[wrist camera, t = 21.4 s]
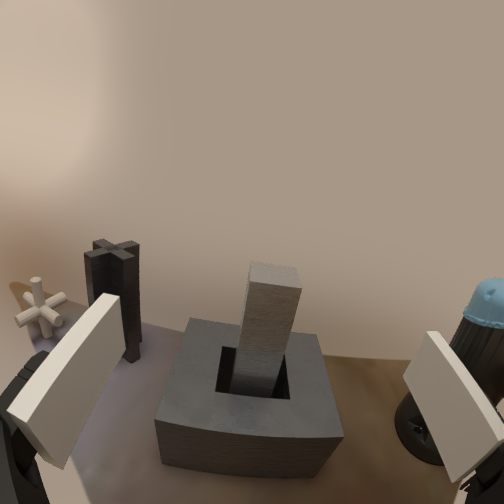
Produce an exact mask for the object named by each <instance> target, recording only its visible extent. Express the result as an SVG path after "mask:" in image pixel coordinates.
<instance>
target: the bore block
mask: <svg viewBox="0 0 504 504" xmlns="http://www.w3.org/2000/svg"><path fill="white" fill-rule="evenodd" d="M239 329H240V326H239V325H232V324H226V323H219V322H213V321H206V320H201V319H195V318H190V319H189V322H188V325H187V327H186V330H185V333H184V335H183V338H182V341H181V343H180V346H179V349H178V352H177V355H176V357H175V360H174V363H173V366H172V369H171V372H170V374H169V377H168V380H167V383H166V386H165V389H164V392H163V395H162V398H161V401H160V404H159V407H158V410H157V413H156V416H155V419H154V420H155V426H156V433H157V438H158V444H159V450H160V455H161V460H162V464H167V465H171V466H176V467H181V468H186V469H191V470H197V471H203V472H210V473H217V474H225V475H234V476H246V477H261V478H313V477H314V476H315V474H316V473H317V472H318V471H319V470H320V468H321V467H322V466H323V465H324V463H325V462H326V461H327V459H328V458H329V457H330V456H331V454H332V453H333V452H334V450H335V449H336V448H337V446H338V445H339V443H340V442H341V441H342V439H343V438H344V433H343V429H342V425H341V422H340V418H339V414H338V410H337V406H336V403H335V399H334V395H333V392H332V388H331V384H330V381H329V377H328V373H327V370H326V366H325V363H324V359H323V356H322V352H321V349H320V346H319V342H318V339H317V335H315V334H305V333H295V332H290V335H289V339H288V343H287V346H286V349H285V353H284V356H283V360H282V363H281V366H280V370H279V373H278V376H277V379H276V383H275V386H274V389H273V392H272V395H271V398H261V397H251V396H242V395H234V394H229V389H230V383H231V377H232V371H233V365H234V359H235V353H236V347H237V341H238V335H239Z"/></svg>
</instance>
